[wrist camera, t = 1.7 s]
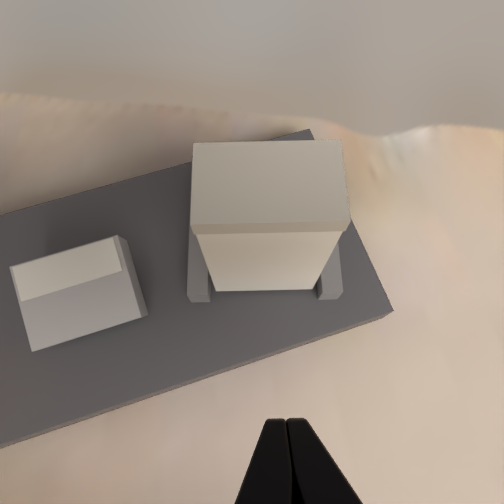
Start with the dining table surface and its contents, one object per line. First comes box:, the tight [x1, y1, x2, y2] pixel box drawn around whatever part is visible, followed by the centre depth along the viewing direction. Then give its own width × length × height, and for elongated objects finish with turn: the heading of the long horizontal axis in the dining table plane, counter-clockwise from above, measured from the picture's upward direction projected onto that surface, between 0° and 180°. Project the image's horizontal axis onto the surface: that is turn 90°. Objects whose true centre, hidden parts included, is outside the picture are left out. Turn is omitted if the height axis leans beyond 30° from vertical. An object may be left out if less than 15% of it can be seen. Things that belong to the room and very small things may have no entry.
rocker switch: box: [9, 235, 148, 352], centre depth 19 cm, size 4×5×2 cm
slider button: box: [190, 140, 351, 291], centre depth 17 cm, size 3×5×8 cm, turn 91°
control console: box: [0, 129, 394, 449], centre depth 21 cm, size 12×29×4 cm, turn 108°
